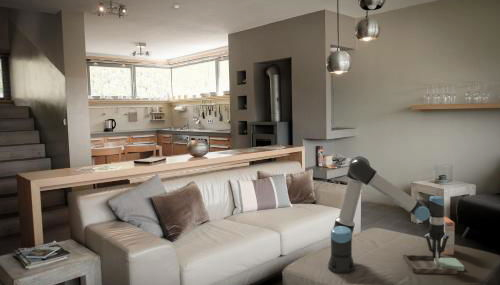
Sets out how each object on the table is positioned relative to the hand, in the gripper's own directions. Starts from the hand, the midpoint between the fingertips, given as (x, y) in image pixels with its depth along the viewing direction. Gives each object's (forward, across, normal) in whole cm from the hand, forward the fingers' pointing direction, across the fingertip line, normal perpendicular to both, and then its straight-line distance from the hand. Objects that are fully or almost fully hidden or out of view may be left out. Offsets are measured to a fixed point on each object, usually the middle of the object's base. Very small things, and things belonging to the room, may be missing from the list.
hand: (436, 263), depth 223 cm
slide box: (+2, -4, 0) cm, 4 cm away
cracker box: (+2, +14, +25) cm, 29 cm away
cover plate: (+1, +7, 0) cm, 7 cm away
